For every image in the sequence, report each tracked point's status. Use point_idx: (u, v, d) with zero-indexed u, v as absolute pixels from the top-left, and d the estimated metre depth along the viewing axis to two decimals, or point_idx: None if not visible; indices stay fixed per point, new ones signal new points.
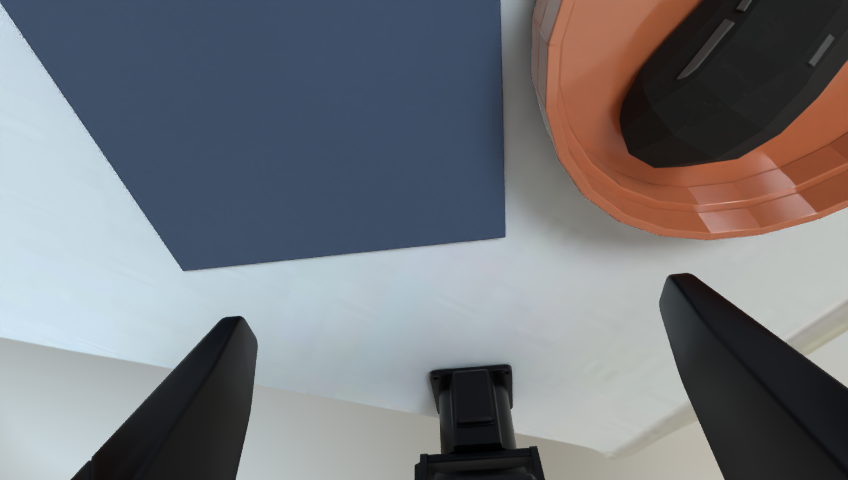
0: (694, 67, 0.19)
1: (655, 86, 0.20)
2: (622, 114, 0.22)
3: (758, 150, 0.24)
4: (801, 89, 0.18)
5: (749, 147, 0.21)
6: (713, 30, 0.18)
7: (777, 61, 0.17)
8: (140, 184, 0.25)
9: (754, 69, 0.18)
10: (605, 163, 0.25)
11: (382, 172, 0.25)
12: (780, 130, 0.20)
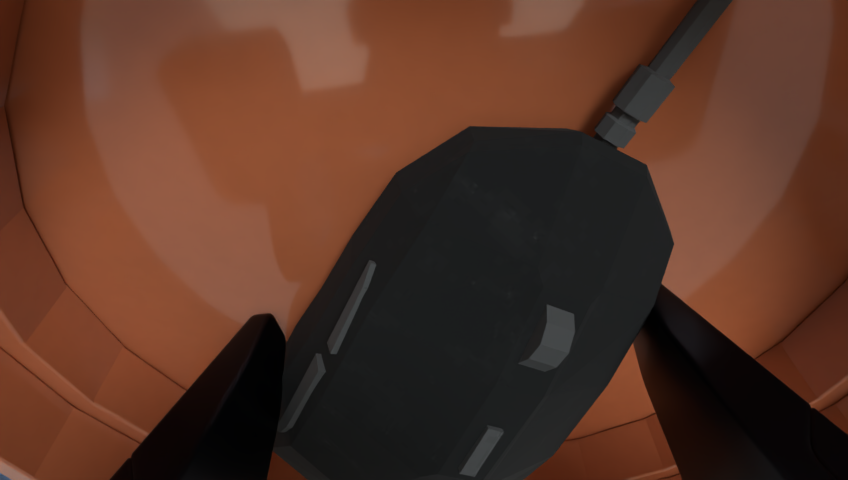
0: (287, 425, 0.10)
1: None
2: None
3: None
4: None
5: None
6: (309, 363, 0.09)
7: (402, 459, 0.08)
8: None
9: (371, 460, 0.09)
10: None
11: None
12: None
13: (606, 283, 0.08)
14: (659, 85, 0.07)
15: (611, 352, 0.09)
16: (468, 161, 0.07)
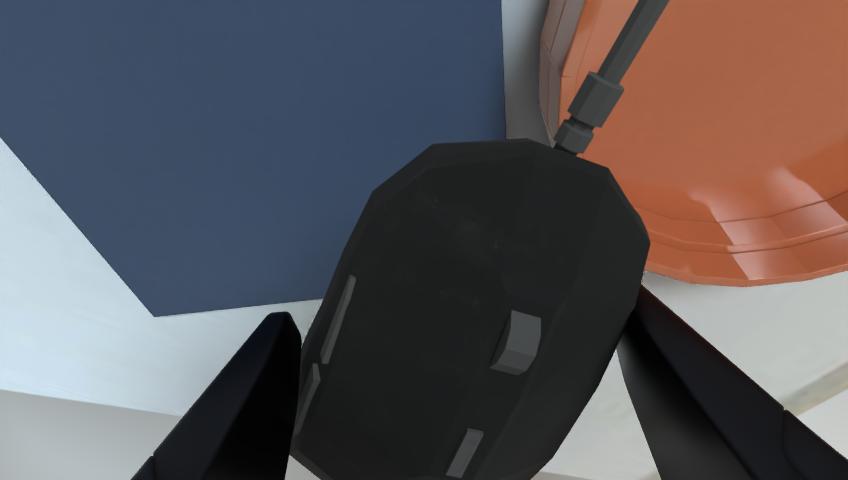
0: (294, 431, 0.10)
1: None
2: None
3: (802, 182, 0.21)
4: None
5: None
6: (309, 373, 0.10)
7: (393, 461, 0.09)
8: (97, 229, 0.22)
9: (367, 463, 0.09)
10: None
11: None
12: None
13: (573, 287, 0.08)
14: (606, 91, 0.07)
15: (593, 354, 0.09)
16: (428, 178, 0.08)
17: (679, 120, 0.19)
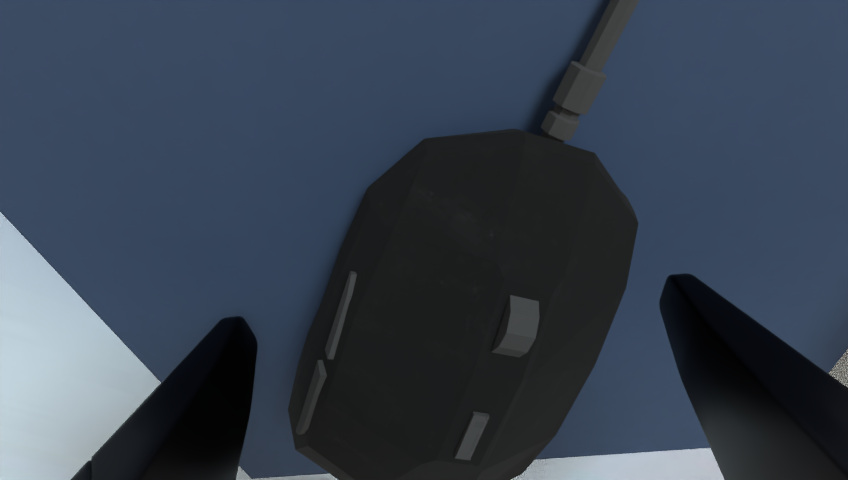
0: (303, 427, 0.10)
1: (292, 420, 0.12)
2: None
3: None
4: (479, 476, 0.10)
5: None
6: (315, 370, 0.10)
7: (403, 449, 0.09)
8: None
9: (377, 453, 0.10)
10: None
11: (618, 377, 0.14)
12: (514, 476, 0.11)
13: (567, 269, 0.08)
14: (590, 79, 0.07)
15: (589, 332, 0.09)
16: (422, 172, 0.08)
17: None
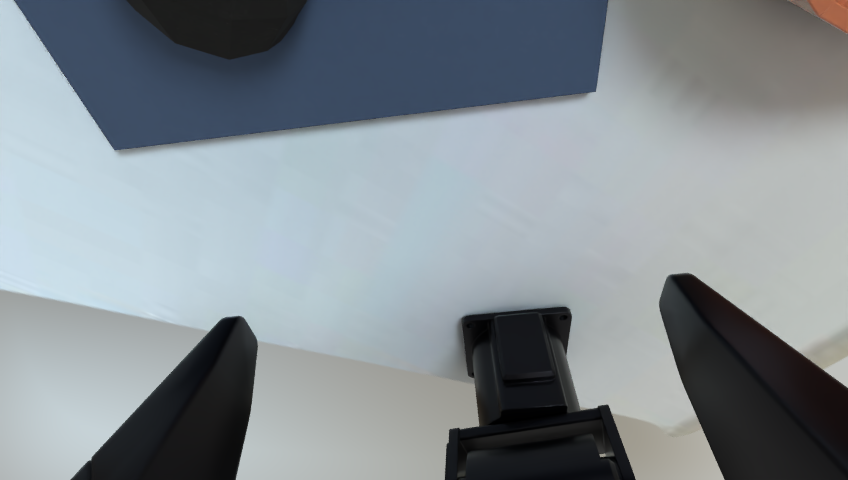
0: None
1: None
2: None
3: None
4: None
5: None
6: None
7: None
8: None
9: None
10: None
11: None
12: None
13: None
14: None
15: None
16: None
17: None
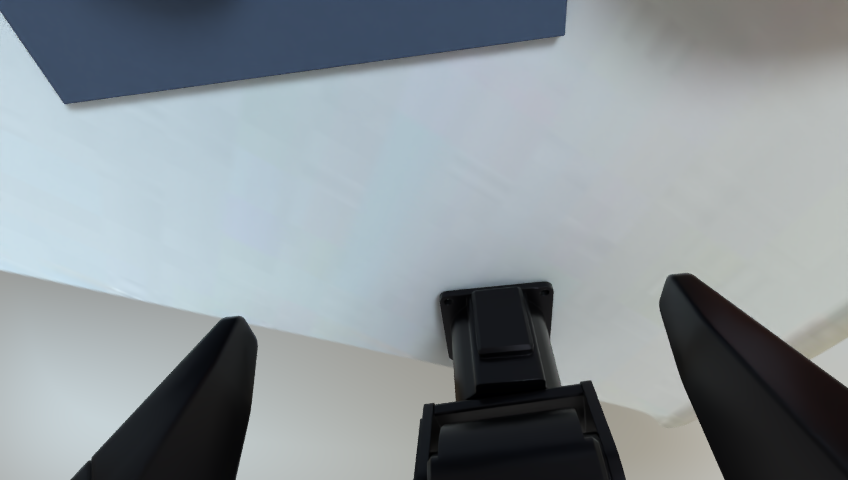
0: None
1: None
2: None
3: None
4: None
5: None
6: None
7: None
8: None
9: None
10: None
11: None
12: None
13: None
14: None
15: None
16: None
17: None
